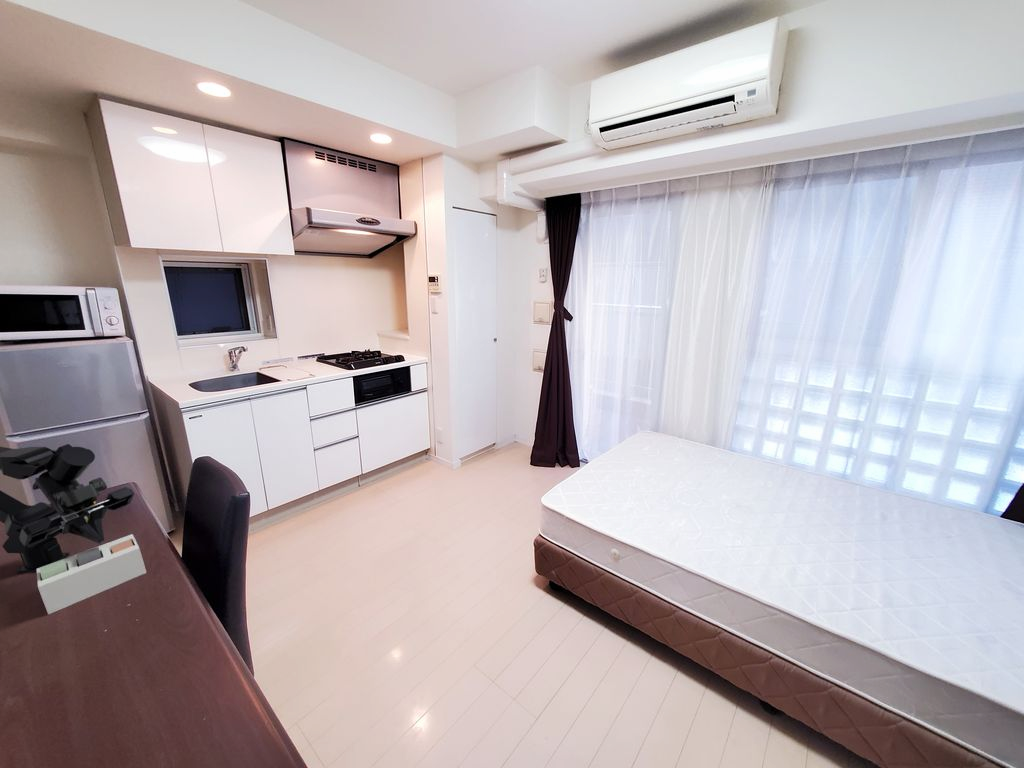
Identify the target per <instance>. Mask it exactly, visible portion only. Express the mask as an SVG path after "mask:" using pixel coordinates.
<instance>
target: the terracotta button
mask: <svg viewBox="0 0 1024 768" xmlns="http://www.w3.org/2000/svg"><path fill="white" fill-rule="evenodd" d="M131 546H133V543H132V541H131V540H130V541H127V542H124V543H122V544H119V545H116V546H114V547H111V549H112V553H116V552H118V551H121V550H124V549H126V548H129V547H131Z"/></svg>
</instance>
